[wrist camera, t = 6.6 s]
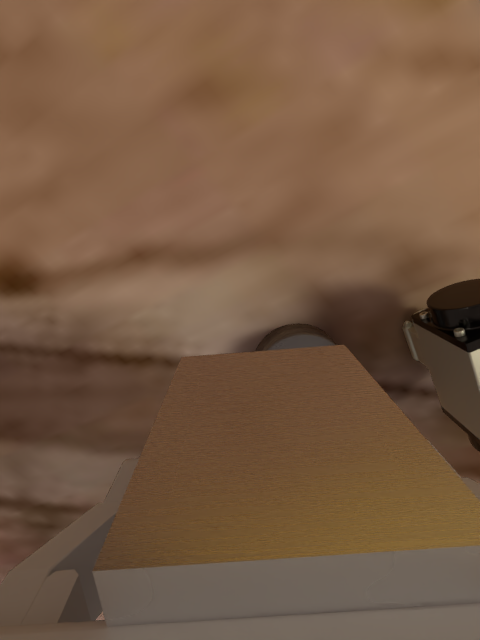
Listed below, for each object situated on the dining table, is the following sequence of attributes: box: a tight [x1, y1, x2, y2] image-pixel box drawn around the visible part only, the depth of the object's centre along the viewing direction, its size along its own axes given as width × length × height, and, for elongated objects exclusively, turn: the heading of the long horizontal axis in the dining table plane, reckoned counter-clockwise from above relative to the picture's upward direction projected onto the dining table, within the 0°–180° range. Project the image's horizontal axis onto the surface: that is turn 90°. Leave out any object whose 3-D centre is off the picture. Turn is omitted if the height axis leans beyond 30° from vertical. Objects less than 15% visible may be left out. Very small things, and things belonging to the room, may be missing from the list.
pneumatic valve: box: [402, 279, 480, 452], centre depth 25 cm, size 6×12×12 cm, turn 25°
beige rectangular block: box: [92, 345, 480, 627], centre depth 9 cm, size 5×5×7 cm
